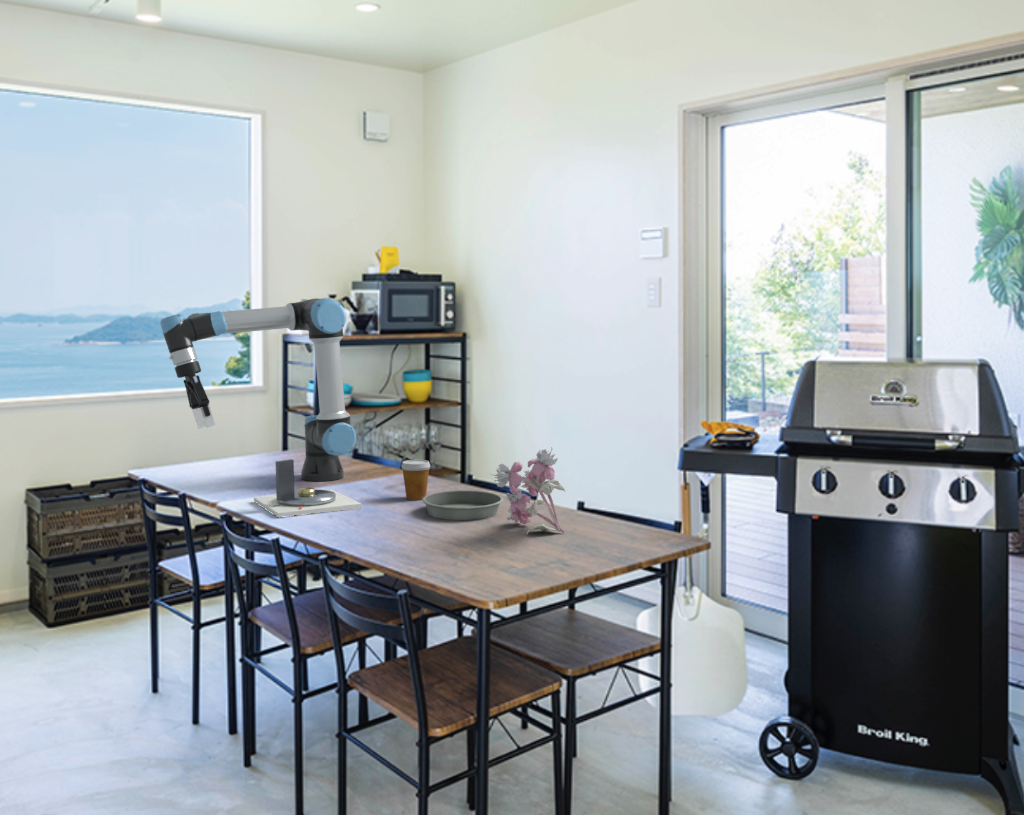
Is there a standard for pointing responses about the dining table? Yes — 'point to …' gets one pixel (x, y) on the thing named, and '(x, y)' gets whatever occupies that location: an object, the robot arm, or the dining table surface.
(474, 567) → the dining table surface
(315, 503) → the dial
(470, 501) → the cake pan
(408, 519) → the dining table surface
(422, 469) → the disposable coffee cup
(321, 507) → the dial board
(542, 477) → the flower
